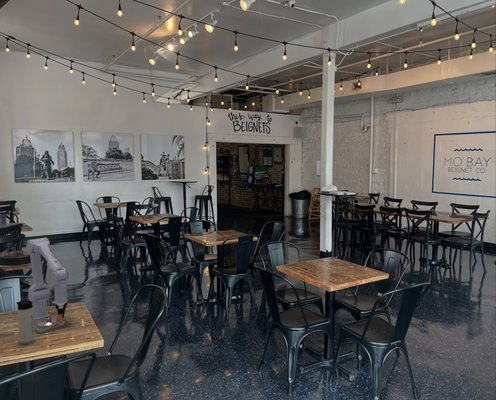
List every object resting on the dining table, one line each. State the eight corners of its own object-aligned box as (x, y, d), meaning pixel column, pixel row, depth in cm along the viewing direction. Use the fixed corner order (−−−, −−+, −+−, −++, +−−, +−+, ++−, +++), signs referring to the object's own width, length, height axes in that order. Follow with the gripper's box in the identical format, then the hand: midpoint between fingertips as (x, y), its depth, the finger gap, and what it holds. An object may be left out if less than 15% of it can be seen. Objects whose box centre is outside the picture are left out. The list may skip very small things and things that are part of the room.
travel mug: (16, 342, 186) (14, 301, 184) (31, 338, 191) (29, 297, 189) (21, 346, 182) (19, 304, 180) (36, 341, 186) (34, 300, 185)
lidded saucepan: (32, 326, 202) (31, 316, 201) (48, 318, 212) (47, 308, 212) (55, 328, 198) (54, 318, 198) (70, 320, 209) (69, 310, 209)
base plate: (26, 326, 205) (26, 320, 205) (58, 317, 217) (57, 312, 217) (39, 334, 195) (39, 328, 194) (71, 324, 207) (71, 319, 207)
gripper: (52, 289, 210) (53, 314, 211) (51, 297, 197) (52, 323, 198) (67, 287, 213) (67, 312, 214) (67, 295, 200) (68, 321, 201)
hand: (61, 317), depth 206 cm, fingers closed, pressing on lidded saucepan
